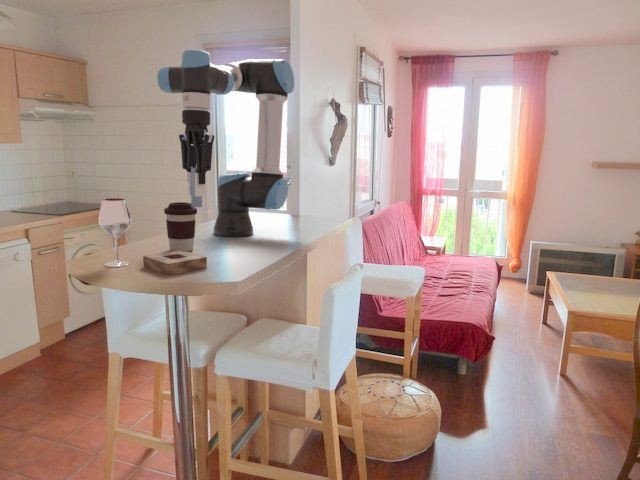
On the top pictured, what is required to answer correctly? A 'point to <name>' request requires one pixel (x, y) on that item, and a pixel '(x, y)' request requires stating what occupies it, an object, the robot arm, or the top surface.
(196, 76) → the robot arm
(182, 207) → the coffee cup
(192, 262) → the hole block
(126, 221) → the wineglass
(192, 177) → the peg
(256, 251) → the top surface
